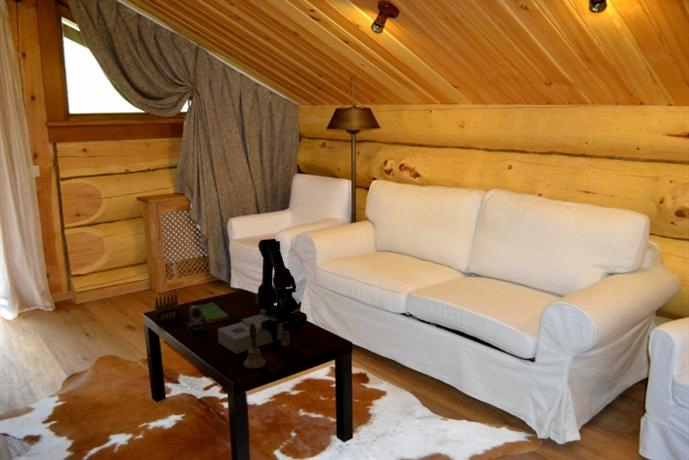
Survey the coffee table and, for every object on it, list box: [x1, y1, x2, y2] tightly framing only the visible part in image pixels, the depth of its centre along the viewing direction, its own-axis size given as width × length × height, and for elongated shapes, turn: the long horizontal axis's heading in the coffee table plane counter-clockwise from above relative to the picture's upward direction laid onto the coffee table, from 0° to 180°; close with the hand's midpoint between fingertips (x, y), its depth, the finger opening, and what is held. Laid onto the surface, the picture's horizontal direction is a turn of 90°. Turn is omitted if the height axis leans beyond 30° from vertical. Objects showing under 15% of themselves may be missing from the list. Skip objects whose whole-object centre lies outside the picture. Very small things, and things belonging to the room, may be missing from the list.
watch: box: [186, 305, 205, 334], centre depth 245 cm, size 6×8×11 cm
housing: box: [217, 321, 284, 354], centre depth 235 cm, size 22×14×6 cm, turn 131°
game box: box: [196, 302, 229, 324], centre depth 265 cm, size 3×10×20 cm
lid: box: [241, 309, 282, 331], centre depth 237 cm, size 10×13×3 cm
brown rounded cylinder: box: [280, 330, 290, 348], centre depth 231 cm, size 3×3×6 cm
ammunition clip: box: [154, 293, 181, 325], centre depth 257 cm, size 11×2×12 cm, turn 129°
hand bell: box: [243, 323, 267, 370], centre depth 214 cm, size 8×8×16 cm
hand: (285, 340), depth 231 cm, fingers open, 9 cm apart
